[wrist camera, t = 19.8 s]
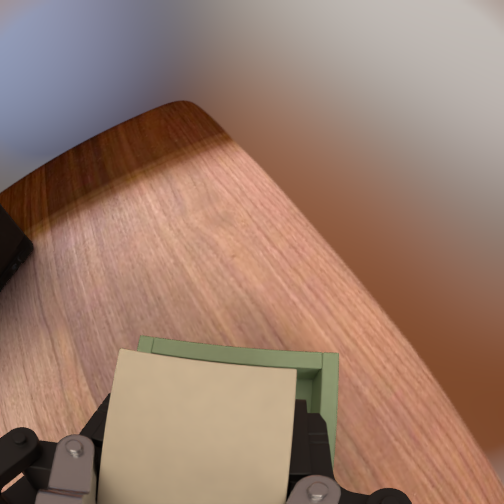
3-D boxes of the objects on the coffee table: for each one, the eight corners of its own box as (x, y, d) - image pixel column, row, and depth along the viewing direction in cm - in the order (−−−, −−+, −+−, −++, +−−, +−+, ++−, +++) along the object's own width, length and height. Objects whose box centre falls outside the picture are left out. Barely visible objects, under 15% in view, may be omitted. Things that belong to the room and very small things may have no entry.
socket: (325, 367, 17) (339, 352, 14) (310, 540, 11) (321, 561, 8) (160, 352, 18) (139, 334, 15) (137, 517, 12) (112, 530, 9)
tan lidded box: (280, 399, 16) (299, 366, 8) (270, 504, 12) (278, 572, 5) (186, 389, 16) (118, 345, 8) (173, 491, 13) (93, 533, 5)
